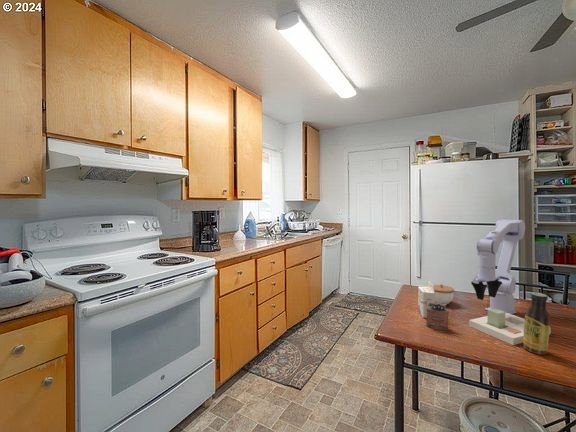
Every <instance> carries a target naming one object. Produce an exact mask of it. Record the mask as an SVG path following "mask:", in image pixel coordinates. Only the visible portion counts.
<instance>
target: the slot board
mask: <svg viewBox="0 0 576 432" xmlns="http://www.w3.org/2000/svg"><path fill="white" fill-rule="evenodd" d="M487 321H488V315H485V316H481V317H477V318H472V319H469V320H468V326H469V327H471V328H472V329H475V330H478V331H479V332H482V333H484V334H486V335H489V336H491V337H493V338H495V339H498V340H501V341H502V342H505V343H507V344H510V345H512V346H516V345H520V344H523V336H524V323H525V318H523V317H520V316H517V315H514V314H509V313H505V328H503V329H499V328H496V327H494V326H491V325H489V324H487ZM551 330H552V329H551V327H550V330H549V336H550V335H551Z"/></svg>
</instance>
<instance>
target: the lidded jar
mask: <svg viewBox="0 0 576 432" xmlns="http://www.w3.org/2000/svg"><path fill="white" fill-rule="evenodd" d="M433 285H434V291H435V304H436V303H440V304H445V306H447V304H448V305H449V304H450V303H451V302H452V301H453V300H454V293H455V289H454V288H453V287H451V286H449V285H445V284H433ZM431 287H432V286H431Z"/></svg>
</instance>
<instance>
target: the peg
mask: <svg viewBox="0 0 576 432" xmlns="http://www.w3.org/2000/svg"><path fill="white" fill-rule="evenodd" d="M505 313H506V312H504V311H501V310H498V309H495V308H494V309H489V310H487V316H488V321H487V324H489V325H491V326H494V327H496V328H499V329H503V328H505Z"/></svg>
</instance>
